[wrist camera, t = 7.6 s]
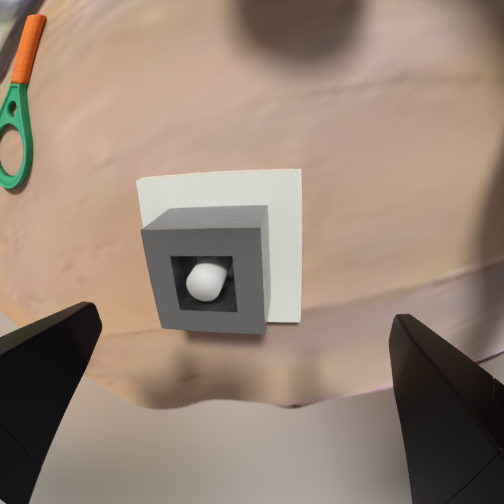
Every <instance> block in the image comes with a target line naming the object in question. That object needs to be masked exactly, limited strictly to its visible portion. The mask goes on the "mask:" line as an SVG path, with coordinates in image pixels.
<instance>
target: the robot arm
mask: <svg viewBox="0 0 504 504" xmlns="http://www.w3.org/2000/svg"><path fill="white" fill-rule="evenodd" d="M101 331H102V322H101V319H100V317H99V314H98V311H97V308H96V306H95V304H94V303H92V302H81V303H78V304H76V305H73V306H71V307H69V308H66V309H64V310H62V311H59V312H57V313H55V314H52V315H50V316H48V317H45V318H43V319H41V320H38V321H36V322H34V323H31V324H29V325H27V326H25V327H22V328H20V329H18V330H15V331H13V332H11V333H9V334H6V335H4V336H2V337H0V499H1V500H2V501H3V502H5V503H6V504H29V502H30V499H31V496H32V493H33V490H34V487H35V484H36V482H37V479H38V476H39V474H40V471H41V468H42V467H41V466H42V465H43V463H44V460H45V458H46V455H47V453H48V450H49V448H50V445H51V443H52V441H53V438H54V436H55V434H56V431H57V429H58V427H59V425H60V422H61V420H62V418H63V416H64V413H65V411H66V409H67V407H68V405H69V403H70V400H71V398H72V396H73V394H74V392H75V390H76V388H77V386H78V384H79V382H80V380H81V378H82V376H83V374H84V372H85V370H86V368H87V365H88V363H89V361H90V358H91V355H92V353H93V350H94V348H95V346H96V343H97V341H98V338H99V336H100V333H101ZM389 351H390V359H391V368H392V377H393V386H394V394H395V399H396V404H397V409H398V414H399V419H400V423H401V429H402V434H403V439H404V446H405V452H406V458H407V464H408V472H409V479H410V487H411V496H412V504H504V385H503V384H502V383H501V382H499V381H498V380H497V379H495V378H494V379H493V376H492V375H490V374H489V373H488V372H486V371H485V370H484V369H483V368H481V367H480V366H479V365H478V364H476V363H475V362H474V361H472V360H471V359H470V358H468V357H467V356H466V355H464V354H463V353H462V352H460V351H459V350H458V349H457V348H455V347H454V346H453V345H451V344H450V343H449V342H447V341H446V340H445V339H443V338H442V337H440V336H439V335H438V334H436V333H435V332H434V331H432V330H431V329H430V328H428V327H427V326H426V325H424V324H423V323H421V322H420V321H419V320H417V319H416V318H415V317H413V316H412V315H410V314H397V315H396V316H395V317H394V320H393V324H392V328H391V333H390V337H389Z"/></svg>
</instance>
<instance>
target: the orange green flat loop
mask: <svg viewBox="0 0 504 504" xmlns="http://www.w3.org/2000/svg"><path fill="white" fill-rule="evenodd" d="M45 18H46V16H44V15H41V14H36V15H30V16H28V17H27V20H26V24H25V27H24V30H23V33H22V37H21V40H20V44H19V48H18V52H17V56H16V60H15V64H14V69H13V74H12V78H11V84H10V85H9V88H8V91H7V94H6V97H5V99H4V101H3V104H2V106H1V109H0V137H1V135H2V132H3V130H4V129H5V128H6V126H8V125H9V124H13V125H14V126H15V127H16V128H17V129H18V131H19V133H20V135H21V138H22V142H23V162H22V165H21V168H20V171H19V172H18V174H17V175H16V176H11V175H9V174H7V173H6V172H5V170H4V169H3V167H2V165H1V162H0V185H1V186H2V187H4V188H7V189H11V188H15V187H17V186H19V185H20V184H21V183H23V181H24V180H25V179H26V177H27V175H28V173H29V170H30V167H31V163H32V157H33V139H32V132H31V124H30V117H29V108H28V98H27V85H28V82H29V77H30V73H31V68H32V64H33V60H34V56H35V52H36V49H37V45H38V41H39V38H40V34H41V31H42V28H43V25H44V21H45ZM15 103H16V105H17V110H16V114H15V115H14V113H13V107H14V104H15Z"/></svg>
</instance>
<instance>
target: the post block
mask: <svg viewBox="0 0 504 504" xmlns="http://www.w3.org/2000/svg"><path fill="white" fill-rule="evenodd" d="M136 182H137V190H138V197H139V203H140V210H141V216H142V222H143V228H144V227H145V226H147V225H148V224H149V223H151V222H152V221H153V220H155V219H156V218H157V217H159V216H160V215H161V214H163V213H164V212H165V211H167V210H168V209H169V208H188V207H213V206H247V205H268V222H269V248H270V277H271V300H270V307H269V314H268V320H267V322H300V316H301V280H302V174H301V169H262V170H235V171H216V172H200V173H186V174H174V175H163V176H152V177H143V178H141V179H138V180H136ZM197 261H198V262H197V264H196V265H195V267H194V269H193V270H192V272H191V273H190V275H189V276H188V278H187V281H186V286H187V289H188V291H189V293H190V294H191V295H192V296H193V297H194V298H196V299H198V300H201V301H211V300H214V299H215V298H216V297H217V296H218V295H219V293H220V291H221V288H222V286H223V284H224V281H225V279H226V277H227V276H228V277H234V268H233V257H232V256H197Z"/></svg>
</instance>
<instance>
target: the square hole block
mask: <svg viewBox="0 0 504 504" xmlns="http://www.w3.org/2000/svg"><path fill="white" fill-rule="evenodd" d="M141 235H142V240H143V246H144V251H145V256H146V261H147V266H148V271H149V275H150V280H151V285H152V289H153V293H154V298H155V302H156V306H157V310H158V314H159V318H160V322H161V326H162V328H165V329H176V330H189V331H203V332H219V333H239V334H266V327H267V320H268V314H269V307H270V300H271V277H270V248H269V222H268V205H247V206H213V207H188V208H169V209H168V210H167V211H165V212H164V213H163V214H161V215H160V216H159V217H157V218H156V219H155V220H153V221H152V222H151V223H149V224H148V225H147V226H145V227H144V228H143V229H142V230H141ZM197 256H232V257H233V268H234V277H228V276H227V277H226V279H225V281H224V284H223V286H222V288H221V291H220V293H219V295H218V296H217V297H216V298H215V299H214V300H211V301H201V300H198V299H196V298H194V297H193V296H192V295H191V294H190V293H189V291H188V289H187V286H186V281H187V278H188V276H189V275H190V273H191V272H192V270H193V269H194V267H195V265H196V264H197V262H198V261H197Z"/></svg>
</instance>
